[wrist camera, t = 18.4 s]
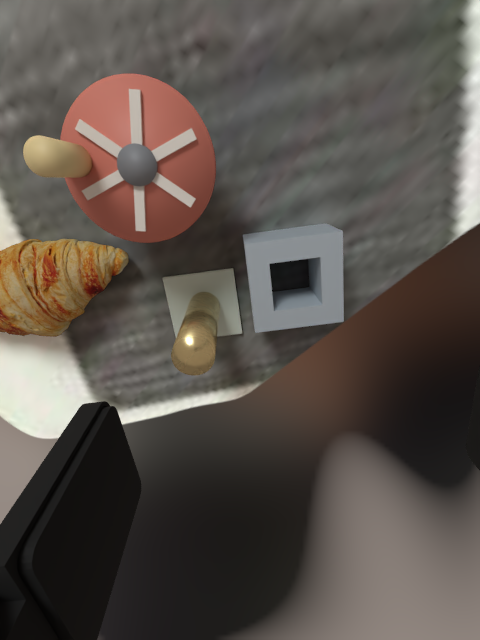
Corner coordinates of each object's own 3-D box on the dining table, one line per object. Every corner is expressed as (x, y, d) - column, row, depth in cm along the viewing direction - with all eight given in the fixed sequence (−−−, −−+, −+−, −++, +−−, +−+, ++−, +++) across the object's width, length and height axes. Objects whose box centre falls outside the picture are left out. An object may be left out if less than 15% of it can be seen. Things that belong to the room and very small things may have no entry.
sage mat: (233, 267, 38) (233, 268, 37) (242, 332, 41) (242, 333, 40) (163, 277, 38) (162, 278, 37) (177, 340, 41) (176, 341, 41)
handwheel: (45, 187, 28) (-5, 189, 22) (108, 40, 24) (67, -5, 18) (171, 265, 31) (156, 285, 25) (244, 144, 27) (247, 134, 21)
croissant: (127, 222, 39) (87, 192, 31) (154, 303, 38) (119, 293, 30) (-28, 287, 41) (-103, 274, 33) (-7, 365, 40) (-79, 371, 32)
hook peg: (217, 289, 38) (211, 334, 27) (222, 318, 39) (217, 372, 28) (186, 293, 38) (167, 339, 27) (191, 322, 40) (175, 377, 28)
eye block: (325, 223, 36) (342, 231, 30) (328, 301, 39) (343, 321, 34) (242, 234, 36) (244, 244, 31) (252, 311, 40) (255, 332, 34)
